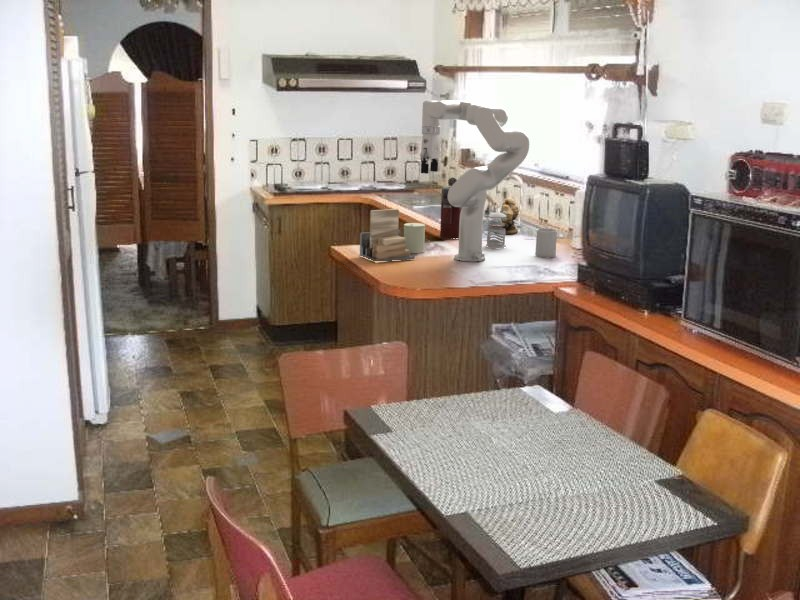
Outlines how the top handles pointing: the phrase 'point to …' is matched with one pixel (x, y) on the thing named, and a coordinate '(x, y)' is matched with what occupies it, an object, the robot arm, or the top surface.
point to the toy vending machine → (449, 214)
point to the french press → (496, 231)
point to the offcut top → (392, 241)
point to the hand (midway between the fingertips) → (429, 172)
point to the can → (414, 237)
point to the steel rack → (367, 251)
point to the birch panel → (383, 224)
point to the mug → (546, 243)
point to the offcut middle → (388, 248)
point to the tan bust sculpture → (509, 216)
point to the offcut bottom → (391, 254)
